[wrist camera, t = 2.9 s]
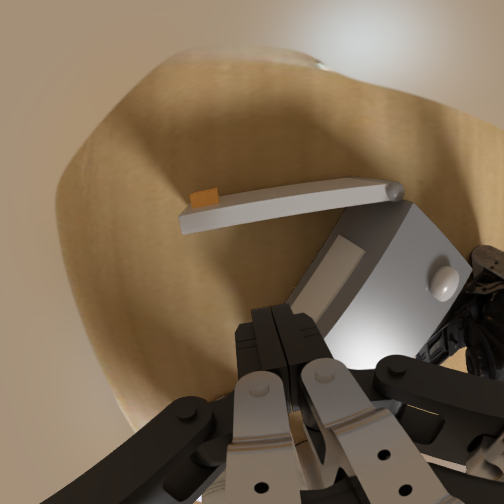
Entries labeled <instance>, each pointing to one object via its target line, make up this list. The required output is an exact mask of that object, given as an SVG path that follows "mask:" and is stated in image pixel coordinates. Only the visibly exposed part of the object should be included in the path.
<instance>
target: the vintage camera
mask: <svg viewBox="0 0 504 504" xmlns="http://www.w3.org/2000/svg"><path fill="white" fill-rule="evenodd" d="M471 258H472V267H473V277H474V279H473V280H472V282H471V283H470V284H469V285H468V286H467V287H465V288H464V289H463V290H462V291H461V292H460V293H459V295H458V296H457V298H456V299H455V301H454V303H453V304H452V306H451V307H450V309H449V310H448V312H447V313H446V315H445V316H444V318H443V319H442V321H441V322H440V324H439V325H438V327H437V328H436V329H435V331H434V332H433V334H432V335H431V336H430V338H429V339H428V340H427V342H426V343H425V344H424V346H423V347H422V348H421V350H420V351H419V352H418V353H417V355H416V359H418V360H421V361H425V362H428V363H432V364H435V365H440V364H442V363H443V362H444V361H445V360H446V359H447V358H448V357H449V356H452V355H453V354H454V353H456V352H457V351H458V350H459V349H461V348H463V347H465V346H466V347H467V349H466V353H465V356H466V366H467V371H468V373H469V374H472V375H476V376H481V377H485V378H489V379H493V380H497V381H502V382H504V252H503V251H501V250H499V249H497V248H494V247H492V246H489V245H482V246H478V247H476V248H475V249H474V250H473V252H472V255H471Z"/></svg>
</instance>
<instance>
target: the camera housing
mask: <svg viewBox="0 0 504 504" xmlns="http://www.w3.org/2000/svg"><path fill="white" fill-rule="evenodd" d="M472 270H473V269H472V268H471V266H470V265H469V264H468V263H467V261H466V260H465V259H464V258H463V256H462V255H461V254H460V253H459V251H458V250H457V249H456V248H455V247H454V245H453V244H452V243H451V242H450V241H449V240H448V239H447V237H446V236H445V235H444V234H443V233H442V232H441V231H440V230H439V229H438V227H437V226H436V225H435V224H434V223H433V222H432V221H431V220H430V219H429V218H428V217H427V216H426V215H425V214H424V213H423V212H422V211H421V210H420V209H419V208H418V207H417V206H416V205H415V204H414V203H413V202H409V201H406V200H400V201H399V202H393V201H383V202H376V203H369V204H362V205H355V206H348V207H347V208H346V209H345V211H344V212H343V214H342V216H341V217H340V219H339V221H338V222H337V224H336V225H335V227H334V229H333V230H332V232H331V233H330V235H329V237H328V238H327V240H326V241H325V243H324V245H323V246H322V248H321V249H320V251H319V252H318V254H317V255H316V257H315V259H314V260H313V262H312V263H311V265H310V266H309V268H308V269H307V271H306V272H305V274H304V275H303V277H302V278H301V280H300V281H299V283H298V284H297V286H296V287H295V289H294V290H293V292H292V293H291V294H290V296H289V297H288V299H287V300H286V302H285V303H289V305H290V307H291V309H292V312H293V314H298V313H303V312H304V313H305V314H307V315H308V316H310V317H311V318H313V320H314V322H315V324H316V326H317V328H318V329H319V331H320V334H321V335H322V337H323V339H324V341H325V342H326V344H327V346H328V348H329V350H330V352H331V354H332V356H333V357H334V359H336V360H339V361H341V362H342V363H343V364H344V365H345V366H346V367H347V368H349V369H355V370H363V369H375V367H376V365H377V363H378V362H379V361H380V360H381V359H382V358H384V357H386V356H389V355H395V354H398V355H404V356H408V357H411V358H414V357H415V356H416V355H417V353H418V352H419V351H420V350H421V348H422V347H423V346H424V344H425V343H426V342H427V340H428V339H429V338H430V336H431V335H432V334H433V332H434V331H435V329H436V328H437V327H438V325H439V324H440V322H441V321H442V319H443V318H444V316H445V315H446V313H447V312H448V310H449V309H450V307H451V306H452V304H453V303H454V301H455V299H456V298H457V296H458V295H459V293H460V291H461V290H462V288H463V286H464V284H465V283H466V281H467V279H468V277H469V275H470V274H471V272H472ZM285 303H284V304H285Z"/></svg>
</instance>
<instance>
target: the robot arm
mask: <svg viewBox="0 0 504 504" xmlns="http://www.w3.org/2000/svg"><path fill="white" fill-rule="evenodd" d="M251 314H252V320H253V322H250V323H244V324H239V326H238V328H237V330H236V331H235V342H236V356H237V368H238V382H237V383H236V386H235V389H234V390H233V391H232V392H231V393H230V394H229V395H227V396H225V397H223V398H221V399H219V400H216V401H213V402H210V403H208V402H207V401H206V400H204V399H203V398H200V397H196V396H187V397H182V398H179V399H177V400H175V401H173V402H172V403H171V404H169V405H168V406H167V407H166V408H165V409H164V410H163V411H161V412H160V413H159V414H158V415H157V416H156V417H154V418H153V419H152V420H151V421H150V422H149V423H147V424H146V425H145V426H144V427H143V428H141V429H140V430H139V431H138V432H137V433H135V434H134V435H133V436H132V437H131V438H129V439H128V440H127V441H126V442H124V443H123V444H122V445H120V446H119V447H118V448H117V449H116V450H114V451H113V452H112V453H110V454H109V455H108V456H106V457H105V458H104V459H103V460H101V461H100V462H99V463H97V464H96V465H95V466H93V467H92V468H91V469H89V470H88V471H86V472H85V473H84V474H82V475H81V476H80V477H78V478H77V479H75V480H74V481H73V482H71V483H70V484H68V485H67V486H65V487H64V488H63V489H61V490H60V491H58V492H57V493H55V494H54V495H52V496H51V497H49V498H48V499H46V500H45V501H43V502H42V503H40V504H193V503H194V502H195V501H196V500H197V499H198V498H199V497H200V496H201V495H202V494H203V493H204V492H205V491H206V489H207V488H208V487H209V486H210V485H211V484H212V483H213V482H214V481H215V480H216V479H217V478H218V477H219V476H220V474H221V473H222V472H223V471H224V470H225V469H226V485H225V504H504V382H502V381H497V380H493V379H489V378H485V377H481V376H476V375H472V374H469V373H465V372H461V371H457V370H453V369H450V368H446V367H442V366H439V365H435V364H432V363H428V362H425V361H421V360H418V359H415V358H411V357H408V356H404V355H398V354H395V355H389V356H386V357H384V358H382V359H381V360H380V361H379V362H378V363H377V365H376V367H375V369H363V370H355V369H349V368H347V367H346V366H345V365H344V364H343V363H342V362H341V361H339V360H336V359H334V357H333V356H332V354H331V352H330V350H329V348H328V346H327V344H326V342H325V341H324V339H323V337H322V335H321V334H320V331H319V329H318V328H317V326H316V324H315V322H314V320H313V318H311V317H310V316H308V315H307V314H305V313H304V312H303V313H298V314H293V312H292V309H291V307H290V305H289V303H285V304H280V305H274V306H270V308H269V307H263V308H258V309H252V310H251ZM290 403H291V405H290ZM407 404H408V405H411V406H414V407H417V408H420V409H423V410H426V411H429V412H432V413H435V414H432V413H429V412H426V411H423V410H420V409H417V408H414V407H411V406H408V405H407ZM291 406H292V410H293V412H294V411H299V410H300V411H301V414H302V418H303V429H304V431H305V434H306V436H307V439H308V441H306V442H303V443H301V444H299V445H297V446H295V448H296V451H297V455H298V458H299V461H300V465H301V468H302V472H303V475H304V479H305V482H306V485H307V489H308V490H299V483H298V476H297V469H296V463H295V456H294V449H293V442H292V438H291V434H290V427H289V415H288V413H290V412H291ZM436 414H439V415H436ZM421 453H423V454H426V455H429V456H432V457H435V458H439V459H442V460H446V461H450V462H453V463H457V464H461V465H465V466H466V469H467V470H466V473H463V472H459V471H456V470H453V469H450V468H446V467H443V466H440V465H437V464H434V463H430V462H426V460H425V459H424V457H423V456H422V455H421Z"/></svg>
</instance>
